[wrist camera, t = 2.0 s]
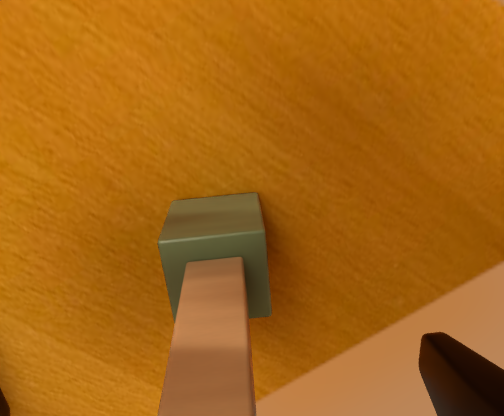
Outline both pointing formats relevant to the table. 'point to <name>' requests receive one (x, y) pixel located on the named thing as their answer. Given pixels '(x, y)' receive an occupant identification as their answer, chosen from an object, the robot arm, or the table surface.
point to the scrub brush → (213, 303)
